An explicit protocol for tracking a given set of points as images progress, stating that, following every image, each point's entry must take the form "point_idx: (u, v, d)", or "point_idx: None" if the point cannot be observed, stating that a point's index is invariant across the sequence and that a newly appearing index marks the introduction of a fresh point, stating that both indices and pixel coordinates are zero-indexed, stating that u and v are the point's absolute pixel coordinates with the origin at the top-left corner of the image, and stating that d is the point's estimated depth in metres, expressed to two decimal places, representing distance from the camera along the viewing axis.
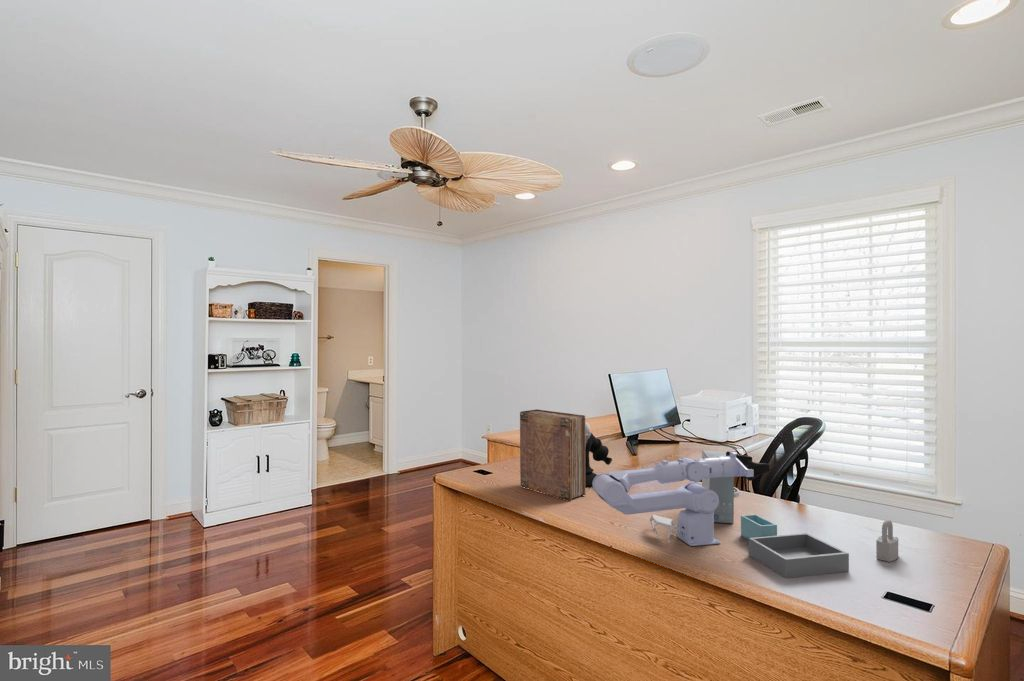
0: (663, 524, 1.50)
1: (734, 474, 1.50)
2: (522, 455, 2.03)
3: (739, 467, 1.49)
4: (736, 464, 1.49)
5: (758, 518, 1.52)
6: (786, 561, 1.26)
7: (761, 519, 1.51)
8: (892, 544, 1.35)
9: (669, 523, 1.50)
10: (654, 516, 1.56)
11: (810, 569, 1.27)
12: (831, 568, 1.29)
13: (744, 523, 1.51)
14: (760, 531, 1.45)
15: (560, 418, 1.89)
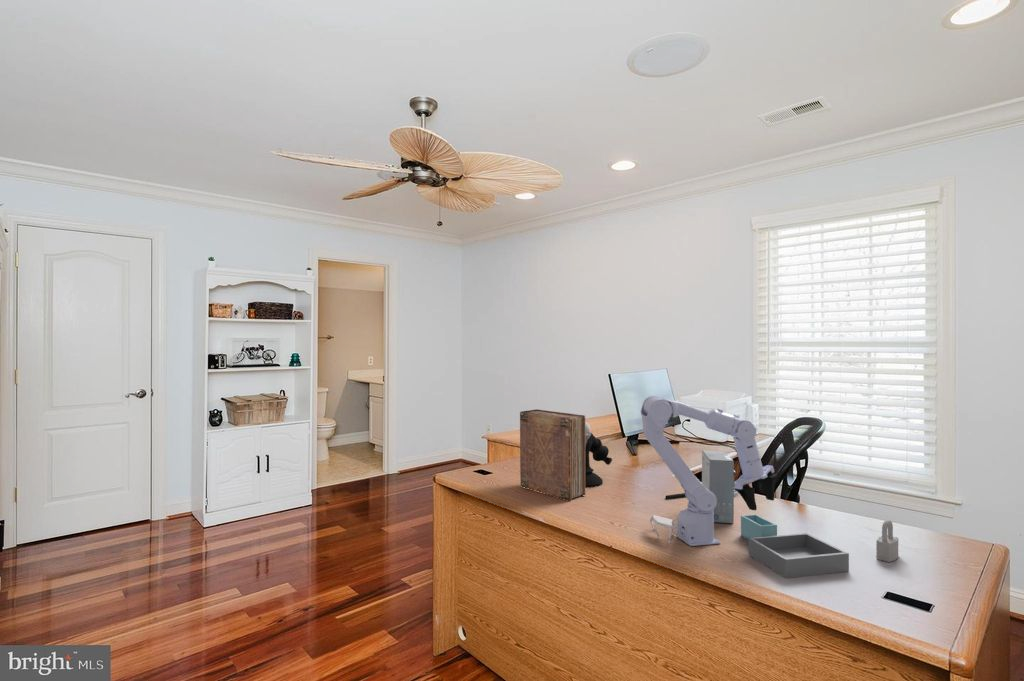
0: (663, 524, 1.50)
1: None
2: (522, 455, 2.03)
3: (747, 478, 1.48)
4: (750, 476, 1.48)
5: (758, 518, 1.52)
6: (786, 561, 1.26)
7: (761, 519, 1.51)
8: (892, 544, 1.35)
9: (669, 523, 1.50)
10: (654, 516, 1.56)
11: (810, 569, 1.27)
12: (831, 568, 1.29)
13: (744, 523, 1.51)
14: (760, 531, 1.45)
15: (560, 418, 1.89)
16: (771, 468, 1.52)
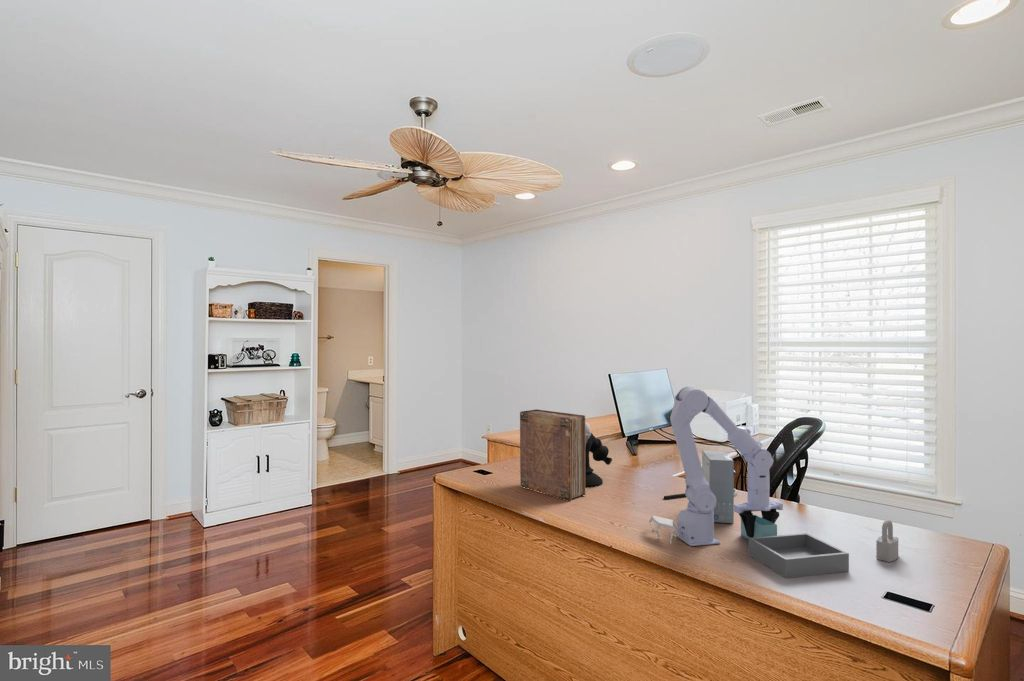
0: (665, 525, 1.49)
1: None
2: (522, 455, 2.03)
3: (749, 506, 1.48)
4: (753, 505, 1.48)
5: (758, 518, 1.52)
6: (786, 561, 1.26)
7: (761, 519, 1.51)
8: (892, 544, 1.35)
9: (671, 524, 1.50)
10: (654, 517, 1.55)
11: (810, 569, 1.27)
12: (831, 568, 1.29)
13: None
14: (760, 531, 1.45)
15: (560, 418, 1.89)
16: (780, 505, 1.50)
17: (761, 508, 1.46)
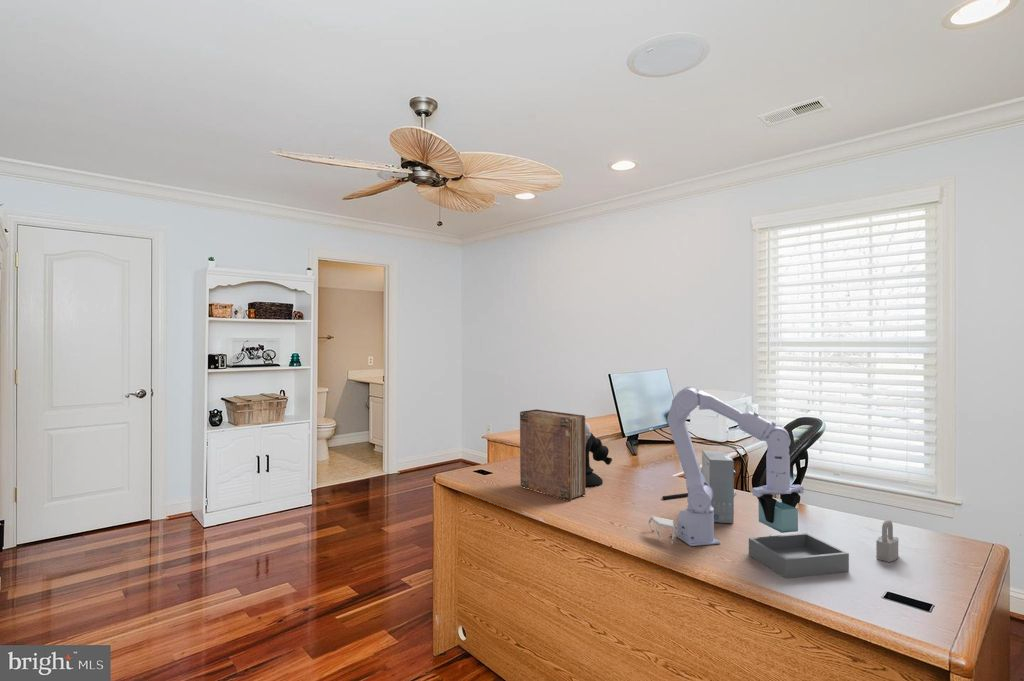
0: (666, 525, 1.49)
1: None
2: (522, 455, 2.03)
3: (769, 489, 1.40)
4: (773, 488, 1.40)
5: (777, 503, 1.45)
6: (786, 561, 1.26)
7: (780, 503, 1.44)
8: (892, 544, 1.35)
9: (671, 524, 1.49)
10: (654, 517, 1.55)
11: (810, 569, 1.27)
12: (831, 568, 1.29)
13: None
14: (780, 515, 1.37)
15: (560, 418, 1.89)
16: (800, 488, 1.42)
17: (781, 491, 1.38)
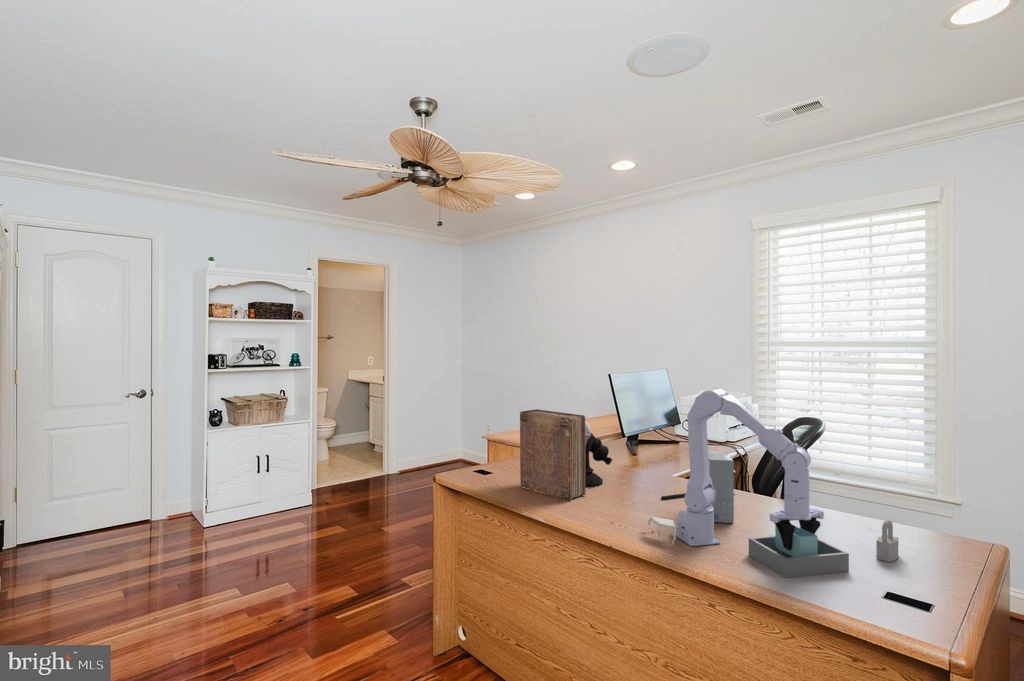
0: (667, 526, 1.49)
1: (784, 508, 1.36)
2: (522, 455, 2.03)
3: (787, 515, 1.33)
4: (791, 513, 1.33)
5: None
6: (786, 561, 1.26)
7: (798, 529, 1.37)
8: (892, 544, 1.35)
9: (672, 524, 1.49)
10: (654, 518, 1.54)
11: (810, 569, 1.27)
12: (831, 568, 1.29)
13: None
14: (799, 543, 1.30)
15: (560, 418, 1.89)
16: (820, 513, 1.35)
17: (801, 517, 1.32)
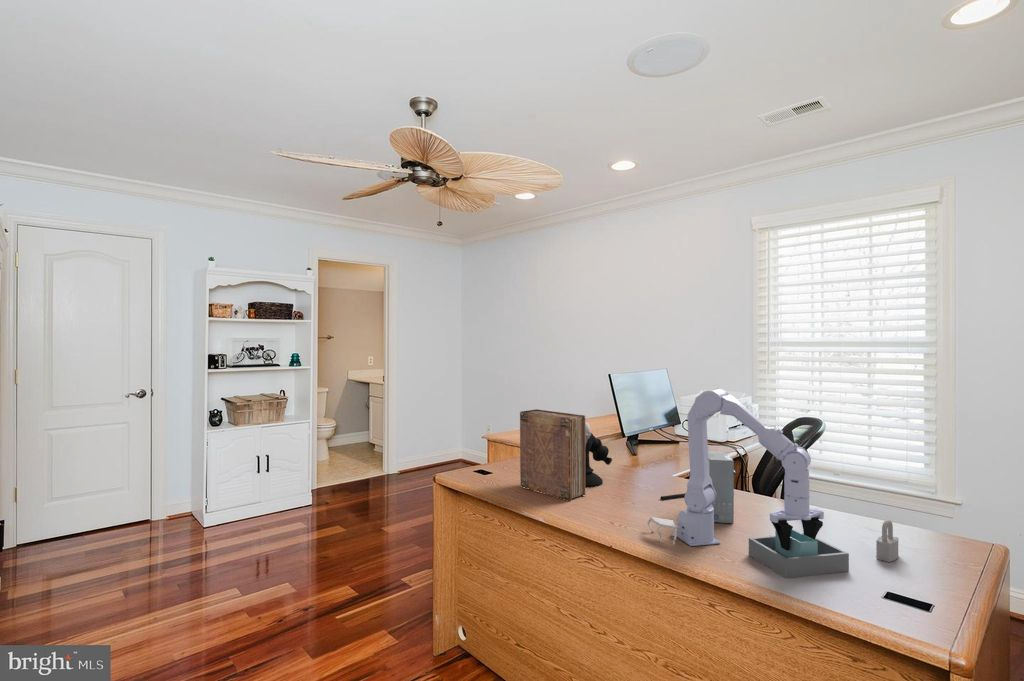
0: (667, 526, 1.49)
1: (784, 508, 1.36)
2: (522, 455, 2.03)
3: (787, 514, 1.33)
4: (791, 513, 1.33)
5: (795, 533, 1.38)
6: (786, 561, 1.26)
7: (798, 534, 1.37)
8: (892, 544, 1.35)
9: (673, 524, 1.49)
10: (654, 518, 1.54)
11: (810, 569, 1.27)
12: (831, 568, 1.29)
13: None
14: (799, 548, 1.30)
15: (560, 418, 1.89)
16: (820, 513, 1.35)
17: (801, 517, 1.32)
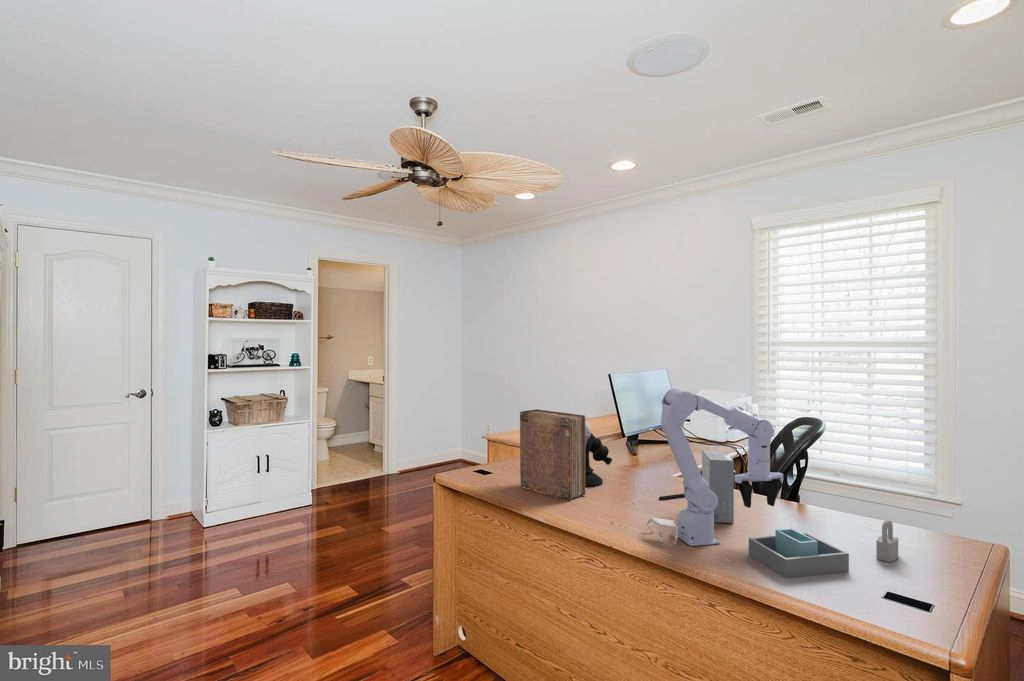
0: (668, 526, 1.48)
1: None
2: (522, 455, 2.03)
3: (750, 476, 1.50)
4: (753, 475, 1.50)
5: (795, 533, 1.38)
6: (786, 561, 1.26)
7: (798, 534, 1.37)
8: (892, 544, 1.35)
9: (674, 525, 1.49)
10: (654, 519, 1.54)
11: (810, 569, 1.27)
12: (831, 568, 1.29)
13: (780, 539, 1.37)
14: (799, 548, 1.30)
15: (560, 418, 1.89)
16: (780, 476, 1.52)
17: (761, 478, 1.48)
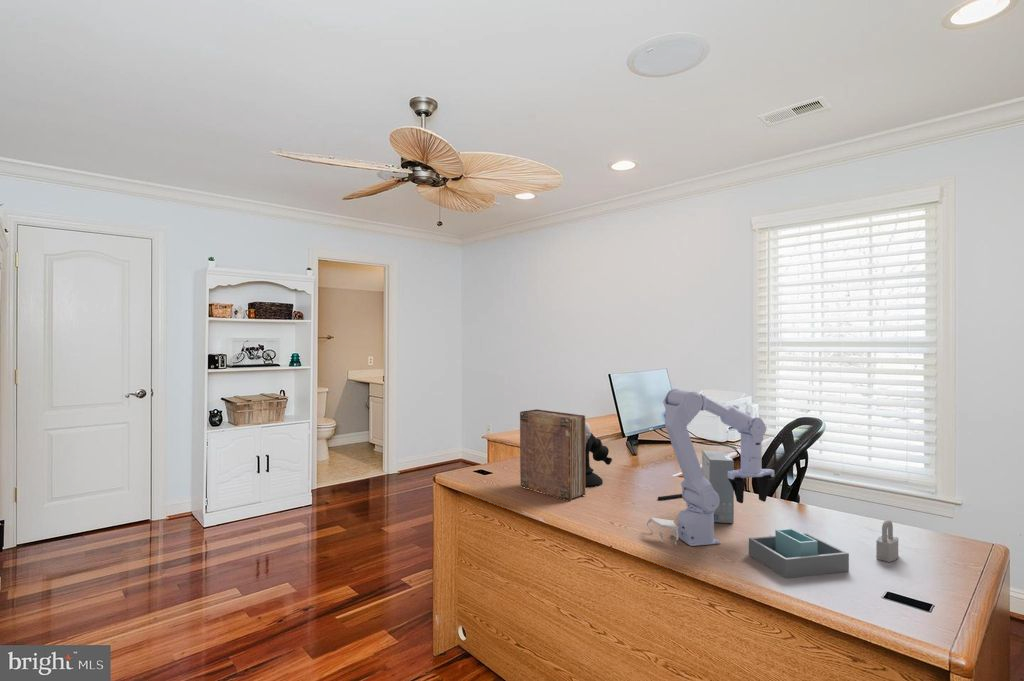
0: (669, 526, 1.48)
1: None
2: (522, 455, 2.03)
3: (742, 472, 1.54)
4: (746, 471, 1.54)
5: (795, 533, 1.38)
6: (786, 561, 1.26)
7: (798, 534, 1.37)
8: (892, 544, 1.35)
9: (674, 525, 1.49)
10: (654, 519, 1.54)
11: (810, 569, 1.27)
12: (831, 568, 1.29)
13: (780, 539, 1.37)
14: (799, 548, 1.30)
15: (560, 418, 1.89)
16: (771, 472, 1.56)
17: (753, 474, 1.53)
